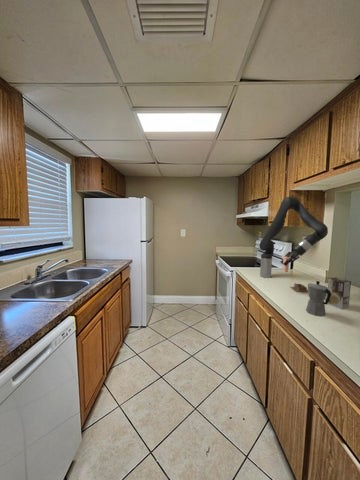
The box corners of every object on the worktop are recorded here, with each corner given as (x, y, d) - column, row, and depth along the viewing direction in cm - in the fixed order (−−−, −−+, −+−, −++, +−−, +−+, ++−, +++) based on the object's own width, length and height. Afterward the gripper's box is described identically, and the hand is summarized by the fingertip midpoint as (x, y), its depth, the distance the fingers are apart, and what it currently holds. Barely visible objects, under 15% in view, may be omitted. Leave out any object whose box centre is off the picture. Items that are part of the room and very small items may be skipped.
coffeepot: (299, 307, 120) (301, 277, 118) (314, 307, 121) (316, 277, 119) (320, 320, 105) (322, 286, 103) (336, 320, 106) (339, 286, 104)
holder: (289, 287, 155) (289, 281, 155) (303, 288, 154) (303, 282, 153) (296, 293, 143) (296, 286, 143) (311, 294, 142) (312, 287, 142)
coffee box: (349, 307, 121) (351, 281, 119) (342, 309, 118) (344, 282, 117) (332, 302, 129) (335, 277, 127) (326, 303, 127) (328, 278, 125)
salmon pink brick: (282, 270, 147) (283, 256, 146) (285, 270, 147) (286, 256, 146) (285, 271, 142) (285, 257, 141) (288, 272, 142) (289, 257, 141)
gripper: (293, 242, 149) (275, 258, 152) (303, 244, 135) (282, 262, 137) (301, 249, 149) (282, 265, 151) (311, 253, 135) (290, 270, 137)
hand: (282, 263), depth 144 cm, fingers closed on salmon pink brick, 5 cm apart
